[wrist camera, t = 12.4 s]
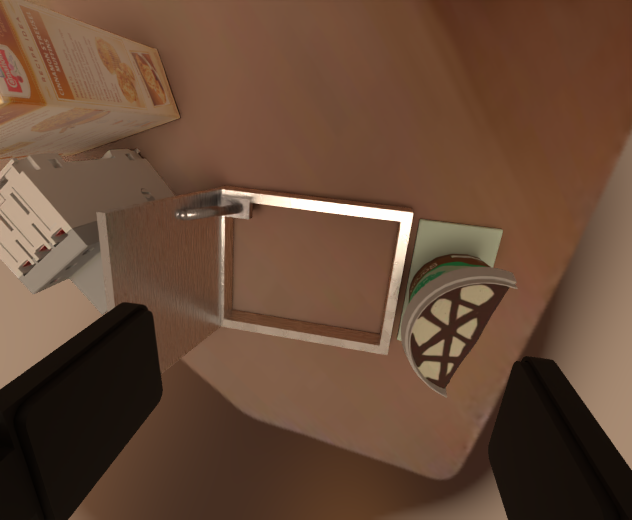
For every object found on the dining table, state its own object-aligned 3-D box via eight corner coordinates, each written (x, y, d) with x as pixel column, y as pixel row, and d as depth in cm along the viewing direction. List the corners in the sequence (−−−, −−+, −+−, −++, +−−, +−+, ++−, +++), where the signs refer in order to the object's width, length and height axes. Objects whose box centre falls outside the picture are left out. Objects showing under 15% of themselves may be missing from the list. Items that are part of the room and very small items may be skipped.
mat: (419, 218, 38) (420, 220, 37) (501, 229, 37) (503, 230, 36) (397, 337, 43) (397, 339, 42) (468, 348, 42) (470, 352, 41)
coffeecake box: (157, 46, 37) (-63, -40, 19) (183, 119, 39) (6, 106, 21) (41, 92, 40) (-238, 58, 22) (70, 157, 42) (-166, 175, 24)
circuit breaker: (176, 283, 45) (84, 350, 31) (96, 187, 43) (-42, 213, 29) (219, 251, 43) (140, 308, 29) (137, 148, 41) (9, 155, 27)
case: (203, 182, 41) (94, 212, 25) (411, 207, 38) (431, 258, 22) (204, 312, 46) (116, 400, 31) (387, 343, 43) (389, 458, 28)
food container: (429, 221, 37) (445, 250, 28) (486, 245, 37) (521, 282, 28) (378, 320, 42) (377, 373, 32) (429, 341, 41) (443, 402, 32)
